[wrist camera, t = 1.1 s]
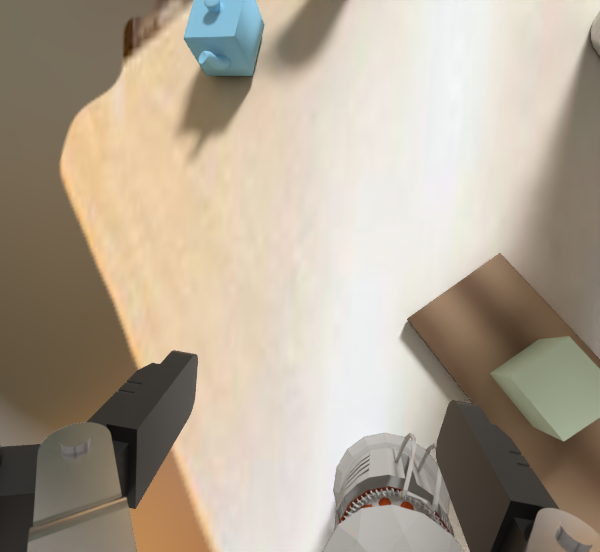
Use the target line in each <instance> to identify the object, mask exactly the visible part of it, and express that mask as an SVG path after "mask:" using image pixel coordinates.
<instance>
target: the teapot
mask: <svg viewBox="0 0 600 552" xmlns="http://www.w3.org/2000/svg"><path fill="white" fill-rule="evenodd" d="M263 29H264V23H263V20H262V17H261V14H260V11H259V8H258V5H257V3H256V0H194V2H193V5H192V9H191V13H190V16H189V20H188V24H187V27H186V31H185V35H184V40H185V42H186V43H187V45H188V47H189V48H190V50H191V52H192V53H193V55H194V56H195V58H196V60H197V61H198V63H199V64H200V66H201V68H202V69H203V71H204V72H205V74H206V76H253V72H254V67H255V63H256V59H257V55H258V50H259V46H260V42H261V37H262V33H263Z"/></svg>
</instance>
